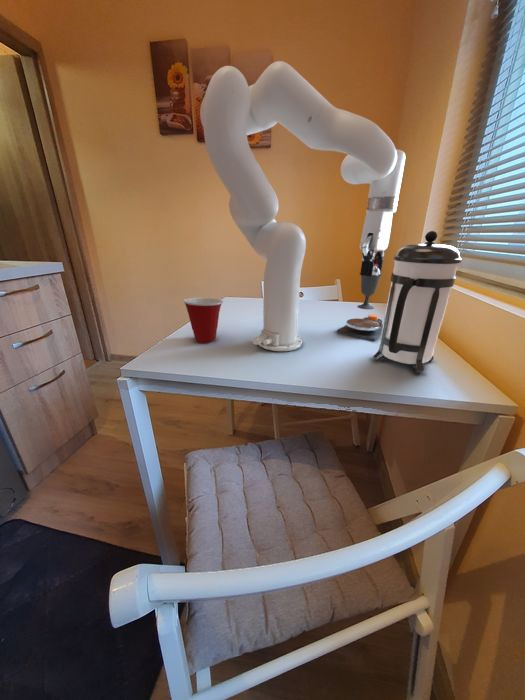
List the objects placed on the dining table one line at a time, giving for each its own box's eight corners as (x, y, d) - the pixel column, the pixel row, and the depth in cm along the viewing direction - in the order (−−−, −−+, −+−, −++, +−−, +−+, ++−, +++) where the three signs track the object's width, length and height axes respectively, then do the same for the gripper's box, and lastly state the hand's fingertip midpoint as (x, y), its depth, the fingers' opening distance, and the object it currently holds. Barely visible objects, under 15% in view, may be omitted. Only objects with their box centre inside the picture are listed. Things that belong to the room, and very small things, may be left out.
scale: (374, 341, 82) (375, 333, 81) (337, 332, 89) (337, 325, 88) (392, 328, 94) (393, 321, 93) (357, 321, 101) (358, 314, 100)
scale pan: (372, 332, 82) (372, 330, 81) (340, 325, 87) (341, 323, 87) (384, 325, 89) (384, 322, 88) (354, 319, 94) (354, 316, 94)
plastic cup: (232, 337, 83) (230, 298, 79) (207, 349, 75) (204, 305, 70) (205, 331, 89) (202, 293, 84) (179, 341, 80) (174, 300, 76)
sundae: (376, 306, 88) (385, 256, 82) (377, 311, 82) (386, 257, 76) (354, 304, 90) (361, 255, 84) (353, 308, 84) (361, 256, 78)
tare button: (375, 322, 92) (376, 317, 91) (365, 320, 94) (366, 315, 93) (378, 320, 94) (379, 315, 94) (369, 318, 96) (370, 314, 96)
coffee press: (359, 348, 77) (378, 230, 65) (418, 349, 76) (447, 231, 65) (382, 378, 61) (413, 230, 49) (456, 380, 61) (505, 231, 49)
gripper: (378, 209, 83) (369, 270, 90) (355, 204, 71) (346, 276, 78) (405, 208, 79) (393, 272, 86) (385, 203, 67) (372, 279, 73)
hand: (370, 273), depth 82 cm, fingers closed on sundae, 6 cm apart
